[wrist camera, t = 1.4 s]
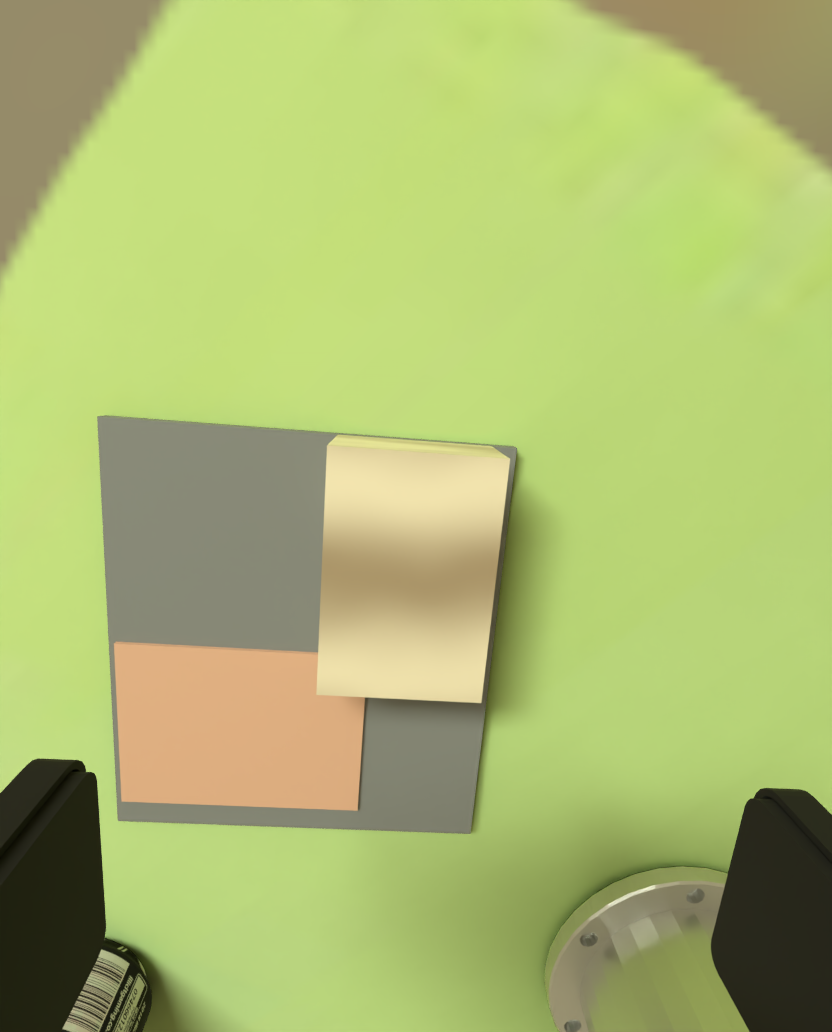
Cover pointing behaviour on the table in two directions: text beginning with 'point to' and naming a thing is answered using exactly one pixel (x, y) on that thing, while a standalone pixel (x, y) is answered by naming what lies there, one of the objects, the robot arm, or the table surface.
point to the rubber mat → (254, 646)
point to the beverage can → (112, 994)
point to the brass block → (408, 567)
